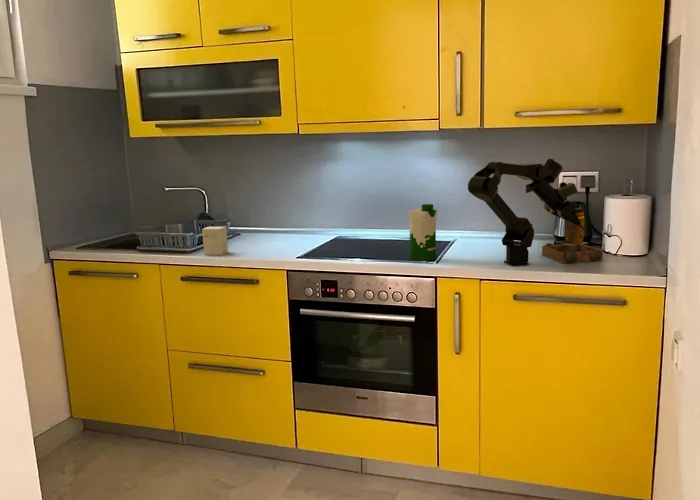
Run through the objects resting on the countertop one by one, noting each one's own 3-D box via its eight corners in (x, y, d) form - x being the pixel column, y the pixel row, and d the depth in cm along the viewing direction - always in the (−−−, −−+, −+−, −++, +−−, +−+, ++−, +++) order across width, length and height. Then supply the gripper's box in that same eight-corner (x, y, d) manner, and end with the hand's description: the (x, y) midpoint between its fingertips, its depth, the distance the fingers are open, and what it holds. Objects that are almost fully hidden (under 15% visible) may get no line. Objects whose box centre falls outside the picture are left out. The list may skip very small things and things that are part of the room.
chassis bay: (563, 264, 210) (563, 252, 209) (540, 254, 225) (540, 243, 225) (604, 260, 212) (604, 249, 211) (578, 251, 228) (579, 241, 227)
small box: (228, 252, 250) (226, 226, 247) (222, 255, 244) (220, 228, 242) (210, 251, 252) (208, 226, 250) (203, 254, 246) (201, 228, 244)
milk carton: (427, 263, 218) (426, 206, 214) (405, 260, 223) (404, 205, 219) (440, 258, 224) (439, 203, 220) (418, 256, 230) (418, 202, 226)
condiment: (588, 243, 216) (590, 209, 213) (569, 245, 213) (571, 210, 210) (573, 240, 222) (575, 206, 220) (554, 242, 219) (556, 208, 217)
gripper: (572, 177, 204) (604, 209, 206) (554, 173, 222) (583, 203, 224) (548, 201, 205) (579, 234, 208) (531, 195, 224) (560, 225, 226)
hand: (576, 223), depth 216 cm, fingers closed on condiment, 6 cm apart
